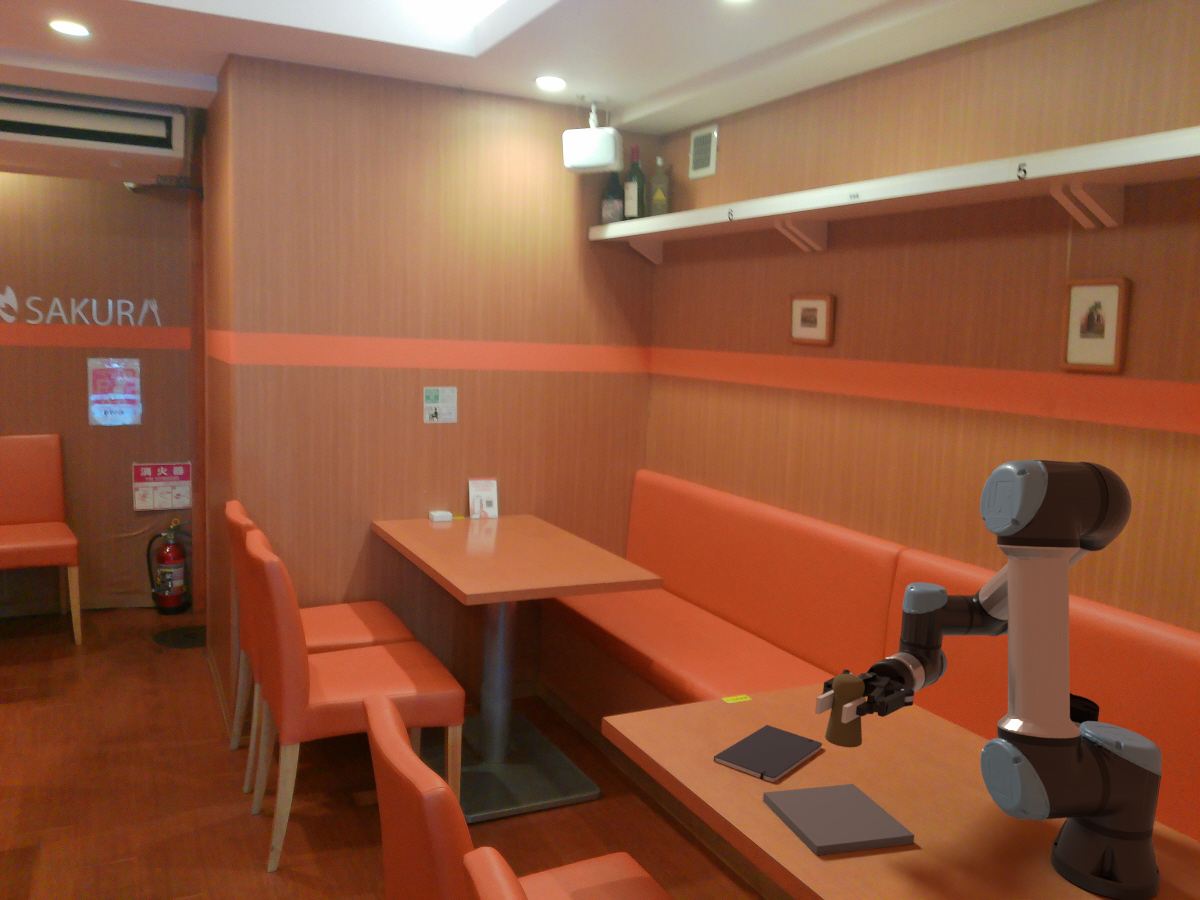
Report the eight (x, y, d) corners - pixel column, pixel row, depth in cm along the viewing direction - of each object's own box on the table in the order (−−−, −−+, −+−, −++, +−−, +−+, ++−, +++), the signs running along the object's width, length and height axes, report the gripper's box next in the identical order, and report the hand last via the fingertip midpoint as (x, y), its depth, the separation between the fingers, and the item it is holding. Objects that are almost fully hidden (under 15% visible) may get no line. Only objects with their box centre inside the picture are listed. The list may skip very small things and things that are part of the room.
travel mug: (1064, 794, 176) (1077, 690, 174) (1094, 811, 170) (1108, 704, 168) (1039, 798, 174) (1052, 693, 171) (1069, 816, 168) (1083, 707, 165)
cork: (863, 749, 155) (869, 685, 154) (825, 744, 156) (831, 680, 155) (860, 735, 161) (866, 672, 160) (824, 730, 162) (830, 668, 161)
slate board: (913, 843, 155) (914, 834, 155) (816, 855, 149) (816, 846, 149) (852, 791, 172) (853, 783, 172) (763, 800, 166) (763, 792, 166)
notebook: (766, 731, 198) (713, 764, 181) (767, 724, 197) (713, 756, 181) (823, 750, 190) (773, 786, 173) (823, 743, 190) (773, 777, 173)
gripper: (938, 712, 166) (877, 750, 149) (849, 684, 177) (783, 716, 160) (943, 671, 165) (882, 704, 148) (853, 645, 177) (787, 673, 159)
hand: (831, 710), depth 154 cm, fingers closed on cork, 4 cm apart
